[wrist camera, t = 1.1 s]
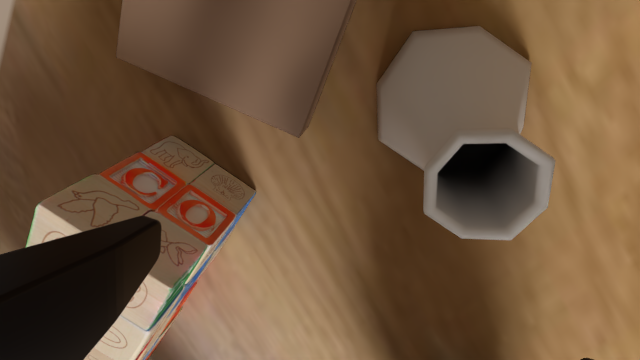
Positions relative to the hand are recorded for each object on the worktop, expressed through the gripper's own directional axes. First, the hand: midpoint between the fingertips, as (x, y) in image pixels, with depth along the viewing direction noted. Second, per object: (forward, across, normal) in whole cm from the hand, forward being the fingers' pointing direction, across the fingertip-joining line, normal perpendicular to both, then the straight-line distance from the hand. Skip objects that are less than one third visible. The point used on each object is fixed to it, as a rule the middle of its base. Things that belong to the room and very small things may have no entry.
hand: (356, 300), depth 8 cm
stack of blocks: (+14, +13, +15) cm, 24 cm away
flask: (+14, -2, -2) cm, 14 cm away
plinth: (+13, +8, -4) cm, 16 cm away
